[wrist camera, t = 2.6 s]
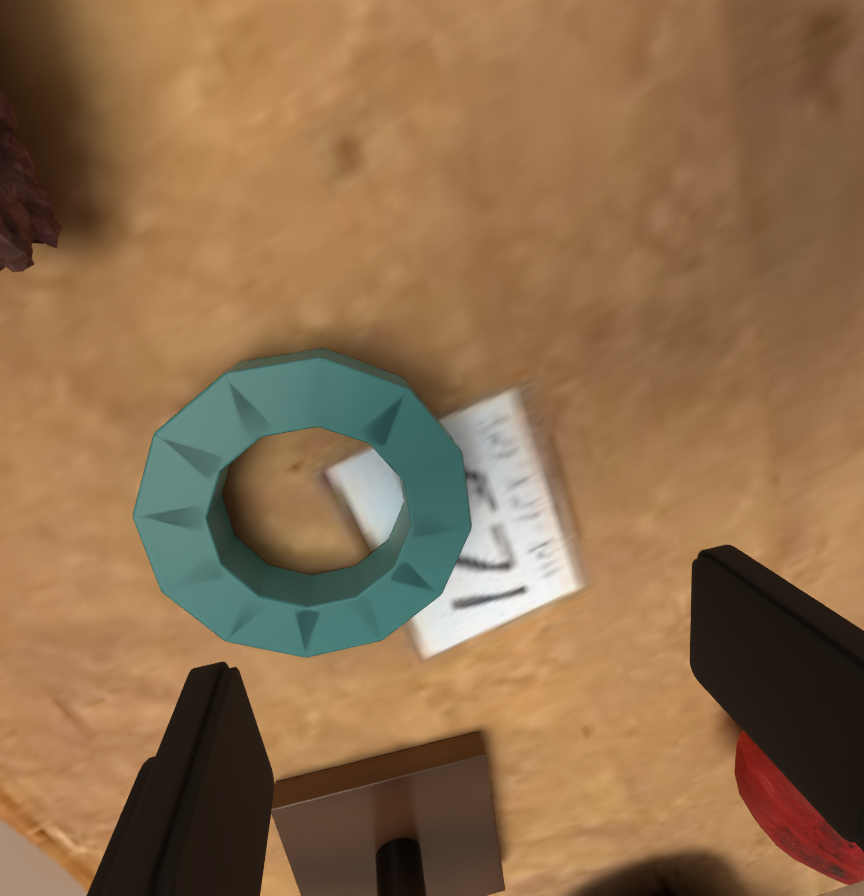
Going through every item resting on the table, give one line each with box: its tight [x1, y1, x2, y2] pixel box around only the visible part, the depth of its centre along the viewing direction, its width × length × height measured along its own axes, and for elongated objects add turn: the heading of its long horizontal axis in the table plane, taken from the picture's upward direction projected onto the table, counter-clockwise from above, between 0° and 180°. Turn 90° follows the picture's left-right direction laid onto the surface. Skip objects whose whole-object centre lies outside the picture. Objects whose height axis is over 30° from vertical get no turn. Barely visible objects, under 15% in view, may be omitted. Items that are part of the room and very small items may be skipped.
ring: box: [133, 348, 472, 657], centre depth 17 cm, size 10×10×2 cm
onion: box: [735, 730, 864, 885], centre depth 21 cm, size 6×6×8 cm
